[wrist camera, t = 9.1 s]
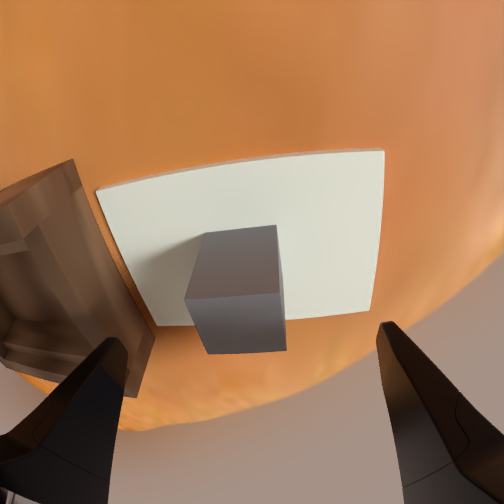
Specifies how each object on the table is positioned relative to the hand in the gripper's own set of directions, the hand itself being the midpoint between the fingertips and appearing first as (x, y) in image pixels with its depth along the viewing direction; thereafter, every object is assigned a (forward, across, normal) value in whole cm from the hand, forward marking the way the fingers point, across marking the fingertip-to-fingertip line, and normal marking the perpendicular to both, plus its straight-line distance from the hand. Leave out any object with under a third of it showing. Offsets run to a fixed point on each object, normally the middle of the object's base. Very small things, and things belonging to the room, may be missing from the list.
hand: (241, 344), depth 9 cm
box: (+5, +14, 0) cm, 15 cm away
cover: (+6, 0, 0) cm, 6 cm away
